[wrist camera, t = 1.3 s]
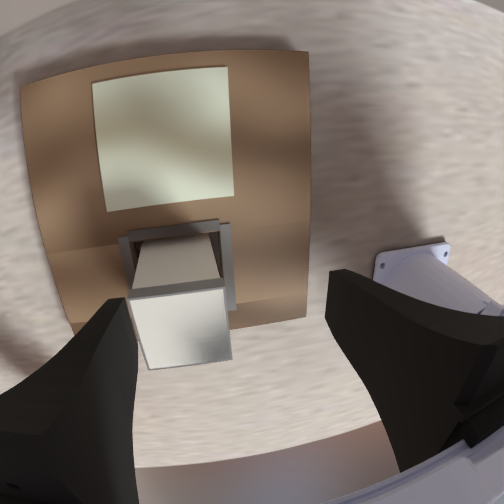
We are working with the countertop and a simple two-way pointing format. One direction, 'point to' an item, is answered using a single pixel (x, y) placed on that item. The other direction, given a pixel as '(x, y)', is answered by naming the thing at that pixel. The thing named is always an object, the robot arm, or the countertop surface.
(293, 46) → the countertop surface
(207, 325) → the plug
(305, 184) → the brown board with panel
